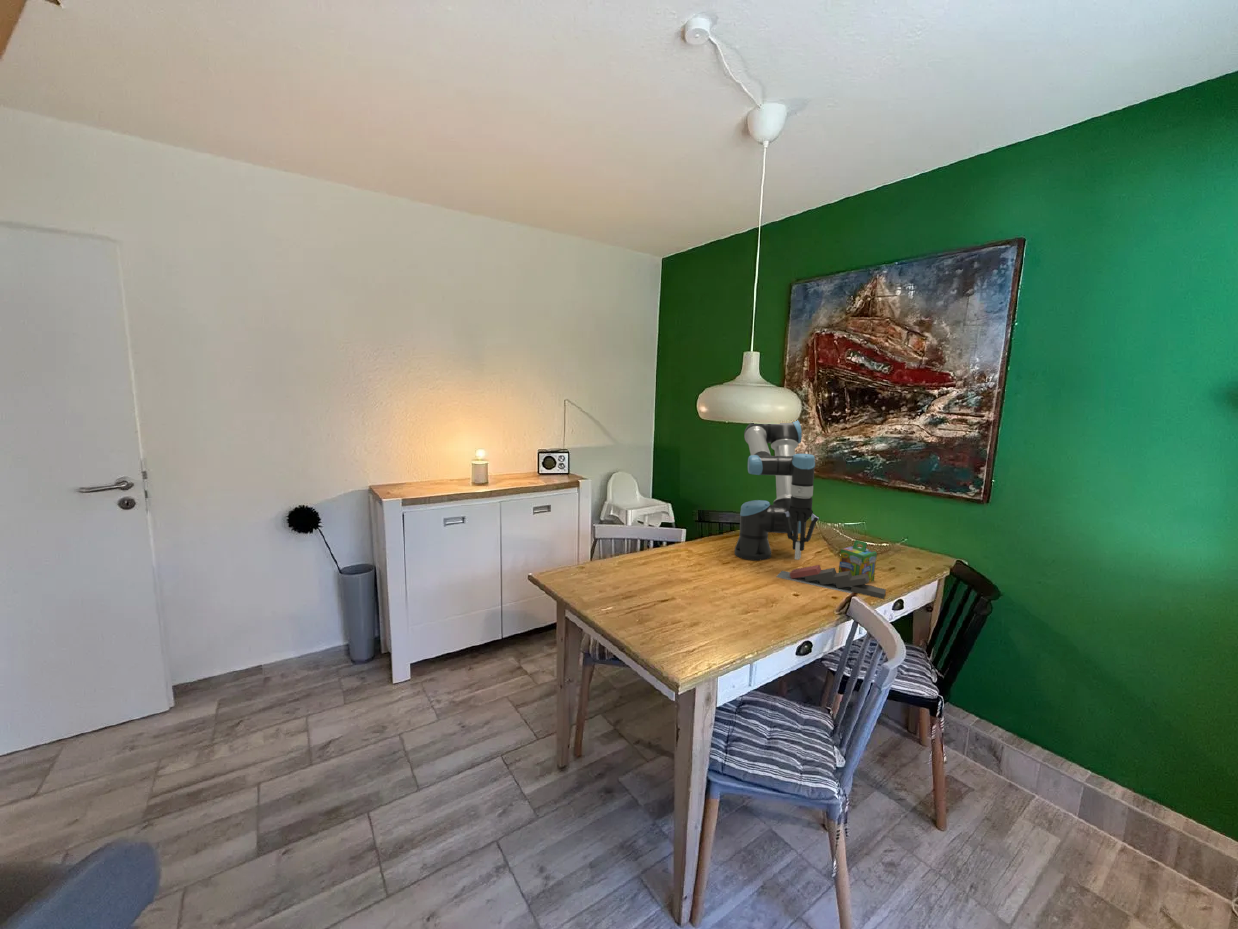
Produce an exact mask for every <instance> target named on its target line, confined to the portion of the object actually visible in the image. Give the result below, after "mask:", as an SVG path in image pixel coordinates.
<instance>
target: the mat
mask: <svg viewBox="0 0 1238 929" xmlns="http://www.w3.org/2000/svg"><path fill="white" fill-rule="evenodd" d="M790 572H791V571H786V570H781V571H780V572H779V573H778V574H777V575H776V576H775V577H776V578H779V579H782V580H788V581H792V582H796V583H797V582H798V583H801V584H806V585H811V586H815V587H819V588H820V587H821V588H824V589H829V590H834V591H839V592H842V593H846V594H847V593H848V594H853V593H854V592H851V586H849V587H843V588H837V587H836V584H835V583H831V584H825V585H821V584H820V581H819V580H814V581H809V582H806V581H805V578H804V577H799V578H793V579H791V576H790Z"/></svg>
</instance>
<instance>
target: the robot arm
mask: <svg viewBox="0 0 1238 929" xmlns="http://www.w3.org/2000/svg"><path fill="white" fill-rule="evenodd" d="M802 431H803V430H802V426H801V423H800V421H799V420H798V419H797V421H795V422H792V423H780V424H754V423H751V422H750V423H749V424H748V425H747V426H746V428H745V429H744V432H743V434H744V436H743V437H744V441H745V442H746V444H748V448H749V453H750V455H749V456H748V457H747V472H748V474H750V475H754V476H755V475H757V476H775V488H776V490H775V492H776V498H775V499H774V500H773V504H771V503H770V502H769V501H768V500H762V499H760V500H759V499H755V500H749V501H746V502H744V503H743V504H742V505H741V506H740V513H739V516H740V520H739V521H740V522H739V537H738V539H737V542H736V545H735V547H734V555H735V556H736V557H737V558H741V559H744V560H748V561H756V562H757V561H766V560H768V559H770V558H771V557H772V548H771V545H770V543H769V533H775V534H776V533H778V534H786V535H787V539H788V540H791V541H792V550H794V560H798V561H799V560H800V559H801V557H802V552H803V551H804V550H805V543H808V542H809V541H810V540H811V539H812V535H813V532H814V529H815V526H816V525H817V524H816V523H817V522H818V521H819V520H820V517H819V516H816V515H815V514H814V511H813V496H814V480H815V467H816V457H815V455H814V454H811V453H796V449H797V448H798V447H799V444H800V443H801V442H802V439H803V438H802V433H803V432H802ZM768 444H770V447H769V445H768ZM769 448H771V449H772V450H774V455H771V451H770V449H769ZM809 519H810V520H811V522H810V524H809V528H808V530H807V529H806V528H807V521H809ZM806 531H807V533H806ZM799 534H800V535H799Z"/></svg>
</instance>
